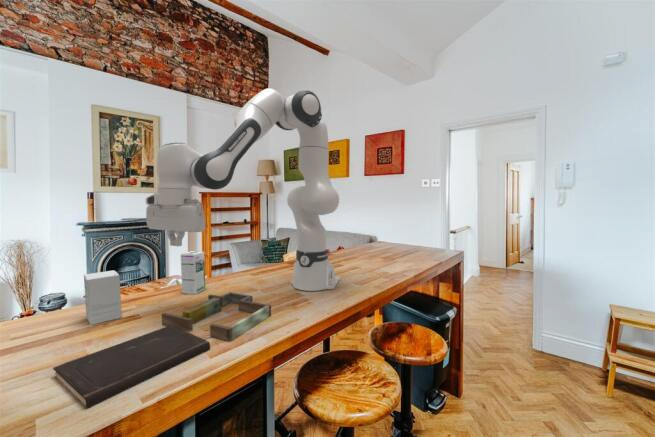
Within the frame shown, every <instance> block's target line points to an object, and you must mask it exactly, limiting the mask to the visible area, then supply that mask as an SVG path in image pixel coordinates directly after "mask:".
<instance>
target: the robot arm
mask: <svg viewBox="0 0 655 437" xmlns="http://www.w3.org/2000/svg"><path fill="white" fill-rule="evenodd" d="M322 117H323V114H322V106H321V102H320V99H319V97H318V96H317V94H315V93H314V92H313V91H310V90H300V91H298V92H296V93H294V94H291V95H290V96H287V97H283V96H282V94H281V92H279V91H278V90H276V89H274V88H269V87H268V88H265V89H263V90H261V91H259V92H258V93H256V94H254V96H253V97H252V98H250V99H249V100H248V101H247V102H246V103H245V104H244V105H243V106H242V107H241V109H240V110H239V111H238V113H237V114H236V116H235V117H234V124H233V125H234V128H235V129H234V131H233V132H232V133H231V135H230V136H229V137H227V139H226V140H225V141H224V142H223V143H222V144H221V145H220V147H218V148H217V149H216V150H214V151H211V152H208V153H205V154H202V153H200V152H198V151H196V150H195V149H193V148H192V147H191V146H189V144H187V143H185V142H171V143H170V142H169V143H165V144H163V145H161V147H160V148H159V149H158V151H157V157H156V159H157V160H156V173H157V174H156V175H157V177H158V184H157V192H154V193H153V194H151V195H149V196H147V197H146V198H145V204H146V205H147V206H146V211H145V212H146V214H145V217H146V218H145V219H146V220H145V221H146V226H147V228H148V229H149V230H159V231H166V236H167V238H168V239H169V245H170V246H171V247H172V246H173V247H181V246H183V238H184V237H185V235H186V233H200V232H201V233H202V232H204V231H205V229H206V219H205V212H204V209H203V208H204V207H203V203H202V202H201V201H200V200H198V199H192V187H197V188H200V189H206V190H216V191H217V190H221V189H223V188H225V187H227V186H228V185H229V184H230V182H231V181H232V179H233V176H234V173H235V170H236V168H237V165H238V163H239V161H240V160H241V159H242V157H244V156H245V154H246V153H247V152H248V150H249V149H250V148H251V147H252V146H253V145H254V144H255V143H256V142H258V141H259V140H261V139H262V138H264V136H265V135H266V134H268V132H270V131H271V129H272V128H273V127H274V125H275V126H277V127H278V128H280V129H281V130H283V131H293V130H295V129H296V130H297V132H298V134H299V146H298V148H299V149H298V153H299V154H298V170H299V172H300V173H301V174H302V176H303V180H304V185H302V186H301V185H300V186H298V187H295V188H293V189H292V190H290V191H289V193H288V194H287V199H286V202H287V205H288V207H289V208H290V210H291V211H292V214H293V218H294V221H295V226H296V233H297V234H296V237H297V238H296V239H297V240H296V241H297V242H296V243H297V244H296V245H297V249H296V251H295V252H296V253H295V257H296V259H295V260H296V261H295V262H294V263H293V269H292V270H293V271H292V279H291V280H289V283H290V285H292V286H293V288H294V289H297V290H301V291H308V292H309V291H310V292H313V291H314V292H315V291H323V290H334V289H335V288H336V286H337V284H338V283H339V281H341V280H340V278H341V277H340V276H338V275H335V266H334V265H333V264H332V262H331V261H330V260H329V255H330V250H331V249H329V248H327V232H326V231H327V230H326V228H325V227H324V225H323V224H322V221H321V220H320V216H324V215H329V214H333V213H334V212H335V211H336V210H337V209H338V207H339V205H340V196H339V193H338V192H337V190H336V189H335V188H334V186H333V185H332V182H331V179H330V174H329V133H328V127H327V126H328V125H326V123H325V122H324V121H323V120H322Z"/></svg>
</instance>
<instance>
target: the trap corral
mask: <svg viewBox="0 0 655 437" xmlns="http://www.w3.org/2000/svg"><path fill="white" fill-rule="evenodd" d="M212 298H220V299H221V300H220V302H221V308H222V307H224V306H225V305H226V306H227V305H229V304H230V303H231V304H236V305H237V304H238V311H239V312H243V313H249V314H248V315H247V316H246V317H244V318H242V319H241V320H238V321H237V322H235V323H233V324H231V325H230V326H226V325H222V324H218V323H210V325H209V329H210V331H209V334H210V335H209V336H210V338H214V339H217V340H222V341H225V342H230V343H231V341H233V340H234V339H236V338H237V337H239V336H240V335H242V334H244V333H245V332H247V331H249V330H250V329H251V328H253V327H255V326H256V325H258V324H259V323H261V322H263V321H264V320H266V319H268V318H269V317H271V316H272V305H271V304H266V303H262V302H261V303H260V302H255V301H254V302H253V295H248V294H243V293H237V292H232V291H231V292H226V293H225V294H222V295H217V294H216V295H215V294H208V295H207V300H210V299H212ZM161 325H162V326H165V327H167V326H170V325H172V326H174V327H177V328H179V329H181V330H184V331H186V332H188V333H190V332H191V331H193V330H194V329H193V324H192V319H191V318H187V317H183V315H177V314H172V313H169V312H162V313H161Z"/></svg>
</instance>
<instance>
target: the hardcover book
mask: <svg viewBox="0 0 655 437" xmlns="http://www.w3.org/2000/svg"><path fill="white" fill-rule="evenodd" d="M209 350H211V344H210V341H209V340H207V339H204V338H201V337H200V336H197V335H195V334H193V333H190V332H189V331H185V330H181V329H179V328H177V327H174V326H172V325H170V326H165V327H162V328H160V329H157V330H154V331H151V332H148V333H146V334H143V335H140V336H136V337H134V338H132V339H128V340H126V341H124V342H123V341H122V342H121V343H118V344H115V345H112V346H108V347H107V348H104V349H100V350H98V351H96V352H93V353H90V354H87V355H84V356H82V357H77V358H76V359H74V360H70V361H68V362H64V363H62V364H59V365H57V366H54V367H52V369H53V371H54V375H55V378H57V379H58V380H59V381H60V382H61V383H62V384H63V385H64V386H65V387H66V388H67V389H68V390H69V391H70V392H71V393H72V394H73V395H74V396H75V397H76V398H77V399H78V400H80V402H81V403H82V404H84V405H85V409H89V408H91V407H93V406H96V405H97V404H100V403H101V402H104V401H107V399H110V398H112V397H115V396H116V395H119V394H121V393H122V392H124V391H126V390H128V389H131V388H133V387H135V386H136V385H139V384H141V383H143V382H145V381H148V380H150V379H151V378H154V377H156V376H158V375H159V374H163V373H164V372H167V371H168V370H170V369H173V368H174V367H177V366H178V365H179V366H180V364H182V363H185V362H187V361H189V360H191V359H193V358H195V357H197V356H199V355H201V354H204V353H205V352H208V351H209Z"/></svg>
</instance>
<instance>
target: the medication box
mask: <svg viewBox="0 0 655 437" xmlns="http://www.w3.org/2000/svg"><path fill="white" fill-rule="evenodd" d="M220 300H221V299H220V298H212V299H210V300H208V299H207V300H205V301H202V302H201V303H198V304H195V305H194V306H191V307H189V308H187V309H184V310H182V317H187V318H191V319H192V325H194V324H196V323H199V322H200V321H202V320H205V319H207V318H209V317H211V316H213V315H215V314H217V313H219V312H221V311H222V307H221V302H220Z"/></svg>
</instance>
